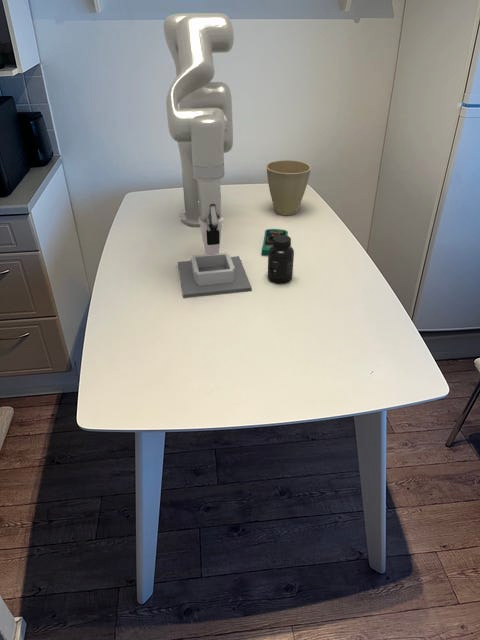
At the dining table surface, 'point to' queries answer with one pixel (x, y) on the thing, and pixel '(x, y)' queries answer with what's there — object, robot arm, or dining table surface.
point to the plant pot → (287, 184)
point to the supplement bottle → (280, 260)
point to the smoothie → (208, 248)
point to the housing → (213, 275)
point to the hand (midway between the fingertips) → (211, 238)
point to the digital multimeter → (271, 239)
